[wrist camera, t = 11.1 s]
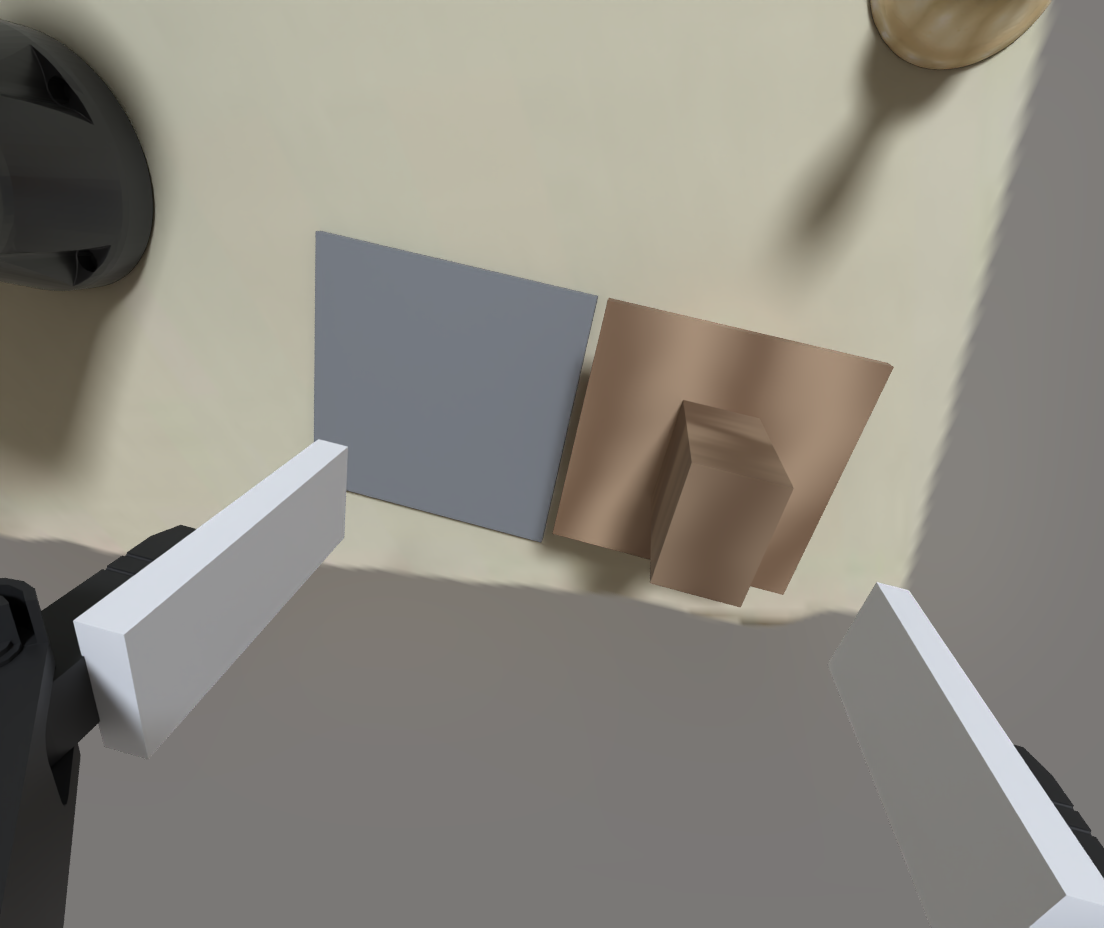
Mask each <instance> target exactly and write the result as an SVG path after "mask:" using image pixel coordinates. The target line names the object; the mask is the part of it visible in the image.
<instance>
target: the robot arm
mask: <svg viewBox="0 0 1104 928" xmlns="http://www.w3.org/2000/svg"><path fill="white" fill-rule="evenodd" d="M152 216H153V199H152V189H151V182H150V177H149V172H148V168H147V164H146V161H145V157H144V154H143V151H142V149H141V146H140V143H139V141H138V138H137V136H136V134H135V131H134V129H133V127H132V125H131V123H130V121H129V119H128V118H127V116H126V114H125V112H124V111H123V109H122V107H121V106H120V104H119V103H118V101H117V100H116V98H115V97H114V95H113V94H112V92H111V91H110V90H109V88H108V87H107V86H106V85H105V83H104V82H103V81H102V80H101V79H100V77H99V76H98V75H97V74H96V73H95V72H94V71H93V70H92V69H91V68H90V67H89V66H88V65H87V64H86V63H85V62H84V61H83V60H82V59H81V58H80V57H78V56H77V55H76V54H75V53H74V52H72V51H71V50H70V49H68V48H67V47H66V46H64V45H63V44H61V43H60V42H58V41H57V40H55V39H53V38H51V37H50V36H48V35H46V34H44V33H41V32H39V31H37V30H34V29H31V28H29V27H25V26H22V25H18V24H15V23H11V22H8V21H4V20H1V19H0V282H5V283H11V284H16V285H22V286H27V287H33V288H38V289H44V290H54V291H71V290H78V289H86V288H93V287H100V286H104V285H108V284H111V283H113V282H115V281H117V280H119V279H121V278H122V277H124V276H125V275H126V274H128V273H129V272H130V271H131V270H132V269H133V268H134V267H135V265H136V264H137V263H138V261H139V260H140V258H141V256H142V255H143V253H144V251H145V248H146V246H147V243H148V240H149V236H150V231H151V226H152ZM347 459H348V447H347V446H343V445H340V444H336V443H332V442H328V441H324V440H320V439H318V440H317V441H315V442H314V443H313V444H311V445H310V446H308V447H307V448H306V449H304V450H303V451H302V452H300V453H299V454H298V455H296V456H295V457H294V458H292V459H291V460H290V461H288V462H287V463H286V464H284V465H283V466H281V467H280V468H279V469H277V470H276V471H275V472H273V473H272V474H271V475H269V476H268V477H267V478H265V479H264V480H263V481H261V482H260V483H258V484H257V485H256V486H254V487H253V488H252V489H250V490H249V491H248V492H246V493H245V494H244V495H242V496H241V497H240V498H238V499H237V500H236V501H234V502H233V503H231V504H230V505H229V506H227V507H226V508H225V509H223V510H222V511H221V512H219V513H218V514H217V515H215V516H214V517H213V518H211V519H210V520H208V521H207V522H206V523H204V524H203V525H202V526H200V527H199V528H198V529H194V528H191V527H187V526H183V525H179V526H176V527H174V528H171V529H168V530H166V531H163V532H160V533H158V534H155V535H152V536H150V537H149V538H147V539H146V540H144V541H143V542H141V543H140V544H138V545H137V546H136V547H134V548H133V549H131V550H130V551H128V552H127V554H126V556H121V557H120V558H118V559H117V560H115V561H114V562H112V563H111V564H109V565H108V566H107V569H106V570H101V571H99V572H98V573H96V574H95V575H93V576H92V577H90V578H89V579H87V580H86V581H85V582H83V583H82V584H80V585H79V586H77V587H76V588H74V589H73V590H71V591H70V592H68V593H67V594H66V595H64V596H63V597H61V598H60V599H58V600H57V601H55V602H54V603H53V604H51V605H49V606H48V607H47V608H45V609H44V610H42V611H41V609H40V606H39V602H38V599H37V595H36V591H35V588H33V587H31V586H30V585H29V584H27V583H25V582H24V581H19V580H14V579H8V578H0V928H63V925H64V914H65V904H66V895H67V885H68V875H69V865H70V855H71V845H72V835H73V825H74V815H75V804H76V795H77V785H78V775H79V765H80V751H79V746H78V742H79V741H80V740H81V739H82V738H83V737H84V736H85V735H86V734H87V733H88V732H89V731H90V730H92V729H93V728H94V727H95V726H96V724H99V728H100V732H101V736H102V740H103V744H104V747H107V748H110V749H114V750H118V751H121V752H124V753H128V754H131V755H135V756H138V757H142V758H146V759H149V758H150V757H151V755H152V754H153V753H154V752H155V751H156V750H157V749H158V748H159V746H160V745H161V744H162V743H163V742H164V741H165V740H166V738H167V737H168V736H169V735H170V734H171V733H172V732H173V731H174V730H175V728H176V727H177V726H178V725H179V724H180V723H181V722H182V720H183V719H184V718H185V717H186V716H187V715H188V714H189V713H190V711H191V710H192V709H193V708H194V707H195V706H196V705H197V703H198V702H199V701H200V700H201V699H202V698H203V697H204V696H205V694H206V693H207V692H208V691H209V690H210V689H211V688H212V686H213V685H214V684H215V683H216V682H217V681H218V680H219V679H220V677H221V676H222V675H223V674H224V673H225V672H226V671H227V669H228V668H229V667H230V666H231V665H232V664H233V663H234V661H235V660H236V659H237V658H238V657H239V656H240V655H241V654H242V652H243V651H244V650H245V649H246V648H247V647H248V645H250V643H251V642H252V641H253V640H254V639H255V638H256V637H257V636H258V634H259V633H260V632H261V631H262V630H263V629H264V628H265V626H266V625H267V624H268V623H269V622H270V621H271V620H272V619H273V617H274V616H275V615H276V614H277V613H278V612H279V611H280V610H281V608H282V607H283V606H284V605H285V604H286V603H287V602H288V600H289V599H290V598H291V597H292V596H293V595H294V594H295V593H296V591H297V590H298V589H299V588H300V587H301V585H303V584H304V582H305V581H306V580H307V579H308V578H309V576H310V575H311V574H312V573H313V572H314V571H315V570H316V569H317V568H318V567H319V565H320V564H321V563H322V562H323V561H324V560H325V559H326V557H327V556H328V555H329V554H330V553H331V552H332V551H333V550H334V548H335V547H336V546H337V545H338V544H339V543H340V542H341V540H342V539H343V538H344V530H345V506H346V483H347ZM828 668H829V670H830V672H831V675H832V678H833V680H834V683H835V685H836V688H837V690H838V693H839V696H840V698H841V701H842V703H843V706H844V708H845V711H846V713H847V715H848V718H849V721H850V724H851V726H852V728H853V731H854V734H855V736H856V739H857V741H858V744H859V746H860V749H861V751H862V754H863V756H864V759H865V762H866V764H867V767H868V769H869V772H870V774H871V777H872V779H873V782H874V784H875V787H876V789H877V792H878V795H879V797H880V800H881V802H882V805H883V807H884V810H885V812H886V815H887V818H888V820H889V823H890V825H891V828H892V830H893V832H894V835H895V838H896V840H897V843H898V845H899V848H900V850H901V853H902V856H903V858H904V861H905V863H906V866H907V868H908V871H909V873H910V876H911V879H912V881H913V884H914V886H915V889H916V891H917V894H918V896H919V899H920V901H921V904H922V906H923V909H924V912H925V914H926V917H927V919H928V921H929V924H930V927H931V928H1104V848H1103V846H1102V845H1101V844H1100V842H1099V841H1098V839H1097V838H1096V837H1094V836H1092V835H1091V829H1090V828H1089V827H1088V825H1087V824H1086V823H1085V821H1084V820H1083V818H1082V817H1081V815H1080V814H1079V812H1078V811H1074V810H1073V806H1074V805H1073V804H1072V803H1071V801H1070V800H1069V798H1068V797H1067V796H1066V794H1065V793H1064V791H1063V790H1062V788H1061V787H1060V786H1059V784H1058V783H1057V781H1056V780H1055V779H1054V777H1053V776H1052V775H1051V774H1050V773H1049V772H1048V771H1047V770H1046V769H1045V768H1044V767H1043V766H1042V765H1041V764H1040V763H1039V762H1038V761H1037V760H1036V759H1035V758H1034V757H1033V756H1032V755H1030V753H1029V752H1028V751H1026V749H1025V748H1023V747H1020V746H1017V745H1013V744H1012V742H1011V741H1010V739H1009V738H1008V737H1007V735H1006V733H1005V732H1004V730H1003V729H1002V727H1001V726H1000V725H999V723H998V722H997V720H996V719H995V717H994V716H993V714H992V713H991V711H990V710H989V708H988V707H987V705H986V704H985V702H984V701H983V699H982V698H981V696H980V695H979V693H978V692H977V690H976V689H975V688H974V686H973V685H972V683H971V682H970V680H969V679H968V677H967V676H966V675H965V673H964V671H963V670H962V668H961V667H960V665H959V664H958V662H957V661H956V659H955V658H954V656H953V655H952V654H951V652H950V650H949V649H948V648H947V646H946V645H945V643H944V642H943V640H942V639H941V637H940V636H939V634H938V633H937V631H936V630H935V628H934V627H933V625H932V624H931V622H930V621H929V619H928V618H927V616H926V615H925V614H924V612H923V611H922V609H921V608H920V606H919V605H918V603H917V602H916V600H915V599H914V598H913V596H912V594H911V593H910V591H909V590H906V589H902V588H898V587H894V586H890V585H886V584H882V583H878V582H876V584H875V586H874V587H873V589H872V591H871V592H870V594H869V596H868V597H867V599H866V601H865V602H864V604H863V606H862V607H861V609H860V611H859V613H858V614H857V616H856V618H855V619H854V621H853V623H852V624H851V626H850V628H849V629H848V631H847V633H846V634H845V636H844V638H843V639H842V641H841V643H840V645H839V646H838V648H837V649H836V651H835V653H834V655H833V656H832V658H831V660H830V661H829V663H828Z"/></svg>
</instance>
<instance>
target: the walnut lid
mask: <svg viewBox="0 0 1104 928" xmlns="http://www.w3.org/2000/svg"><path fill="white" fill-rule="evenodd" d="M892 370H893V366H891V365H890V364H888V363H885V362H881V361H877V360H872V359H868V358H864V357H860V356H855V355H851V354H847V353H842V352H838V351H834V350H830V349H825V348H821V347H817V346H813V345H808V344H804V343H800V342H795V341H791V340H787V339H783V338H778V337H774V336H770V335H765V334H761V333H757V332H753V331H748V330H744V329H740V328H736V327H731V326H727V325H723V324H718V323H714V322H710V321H706V320H701V319H697V318H693V317H688V316H684V315H680V314H676V313H671V312H667V311H663V310H659V309H654V308H650V307H646V306H641V305H637V304H633V303H629V302H624V301H620V300H616V299H611V298H609V299H608V301H607V305H606V310H605V314H604V318H603V322H602V327H601V331H600V335H599V339H598V344H597V348H596V352H595V356H594V360H593V365H592V369H591V373H590V377H589V382H588V386H587V390H586V394H585V398H584V403H583V407H582V411H581V415H580V420H579V424H578V428H577V432H576V437H575V441H574V445H573V449H572V453H571V458H570V462H569V466H568V470H567V475H566V479H565V483H564V487H563V492H562V496H561V500H560V504H559V508H558V513H557V517H556V521H555V525H554V530H553V534H556V535H560V536H563V537H567V538H571V539H575V540H578V541H582V542H586V543H590V544H593V545H597V546H601V547H605V548H609V549H612V550H616V551H620V552H624V553H627V554H631V555H635V556H639V557H642V558H646V559H650V560H651V562H650V583H652V584H655V585H659V586H663V587H666V588H670V589H674V590H678V591H681V592H685V593H689V594H693V595H696V596H700V597H704V598H707V599H711V600H715V601H719V602H722V603H726V604H730V605H734V606H737V607H741V605H742V603H743V601H744V599H745V596H746V594H747V592H748V590H749V587H750V586H752V587H756V588H759V589H763V590H767V591H771V592H774V593H778V594H782V595H783V594H784V592H785V590H786V588H787V586H788V584H789V582H790V580H791V578H792V576H793V574H794V572H795V570H796V568H797V565H798V563H799V561H800V559H801V557H802V555H803V553H804V551H805V549H806V547H807V545H808V543H809V541H810V539H811V537H812V535H813V532H814V530H815V528H816V526H817V524H818V522H819V520H820V518H821V516H822V514H823V512H824V510H825V508H826V506H827V504H828V502H829V499H830V497H831V495H832V493H833V491H834V489H835V487H836V485H837V483H838V481H839V479H840V477H841V475H842V473H843V471H844V469H845V466H846V464H847V462H848V460H849V458H850V456H851V454H852V452H853V450H854V448H855V446H856V444H857V442H858V440H859V438H860V436H861V433H862V431H863V429H864V427H865V425H866V423H867V421H868V419H869V417H870V415H871V413H872V411H873V409H874V407H875V405H876V403H877V400H878V398H879V396H880V394H881V392H882V390H883V388H884V386H885V384H886V382H887V380H888V378H889V376H890V374H891V372H892Z"/></svg>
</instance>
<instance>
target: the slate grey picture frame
mask: <svg viewBox="0 0 1104 928" xmlns="http://www.w3.org/2000/svg"><path fill="white" fill-rule="evenodd" d="M597 299H598V296H596V295H592V294H587V293H583V292H579V291H575V290H570V289H566V288H562V287H558V286H553V285H549V284H545V283H541V282H536V281H532V280H528V279H523V278H519V277H515V276H511V275H506V274H502V273H498V272H494V271H489V270H485V269H481V268H477V267H472V266H468V265H464V264H460V263H455V262H451V261H447V260H443V259H438V258H434V257H430V256H425V255H421V254H417V253H413V252H408V251H404V250H400V249H396V248H391V247H387V246H383V245H379V244H374V243H370V242H366V241H362V240H357V239H353V238H349V237H345V236H340V235H336V234H332V233H327V232H323V231H316V259H315V377H314V442H315V441H317V440H318V439H320V440H324V441H328V442H332V443H336V444H340V445H343V446H347V447H348V459H347V483H346V490H347V491H351V492H355V493H359V494H362V495H366V496H370V497H374V498H377V499H381V500H385V501H388V502H392V503H396V504H400V505H403V506H407V507H411V508H415V509H418V510H422V511H426V512H430V513H433V514H437V515H441V516H445V517H448V518H452V519H456V520H460V521H463V522H467V523H471V524H474V525H478V526H482V527H486V528H489V529H493V530H497V531H501V532H504V533H508V534H512V535H516V536H519V537H523V538H527V539H531V540H534V541H538V542H542V539H543V535H544V530H545V526H546V522H547V517H548V513H549V509H550V504H551V500H552V495H553V491H554V487H555V482H556V478H557V474H558V469H559V465H560V460H561V456H562V452H563V447H564V443H565V439H566V434H567V430H568V426H569V421H570V417H571V412H572V408H573V404H574V399H575V395H576V391H577V386H578V382H579V378H580V373H581V369H582V364H583V360H584V356H585V351H586V347H587V343H588V338H589V334H590V329H591V325H592V321H593V316H594V312H595V308H596V303H597Z"/></svg>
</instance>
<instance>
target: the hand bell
mask: <svg viewBox="0 0 1104 928" xmlns="http://www.w3.org/2000/svg"><path fill="white" fill-rule="evenodd" d="M1051 1H1052V0H870V3H871V10H872V16H873V19H874V23H875V25H876V27H877V29H878V31H879V33H880V35H881V37H882V38H883V40H884V41H885V43H886V44H887V45H888V46H889V48H890V49H891V50H892V51H893V52H894V53H895V54H897V55H898V56H899V57H900V58H902V59H904V60H905V61H907V62H909V63H912V64H914V65H917V66H919V67H924V68H929V69H953V68H959V67H963V66H967V65H971V64H974V63H976V62H979V61H981V60H983V59H986V58H988V57H990V56H992V55H993V54H995V53H997V52H999V51H1000V50H1002V49H1004V48H1006V47H1007V46H1008V45H1010V44H1011V43H1012V42H1013V41H1015V40H1016V39H1017V38H1018V37H1020V36H1021V35H1022V34H1023V33H1024V32H1025V31H1026V30H1027V29H1028V28H1030V27H1031V26H1032V25H1033V24H1034V22H1035V21H1036V20H1037V19H1038V18H1039V17H1040V16H1041V14H1042V13H1043V12H1044V11H1045V9H1046V8H1047V7H1048V5H1049V4H1050V3H1051Z"/></svg>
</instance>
